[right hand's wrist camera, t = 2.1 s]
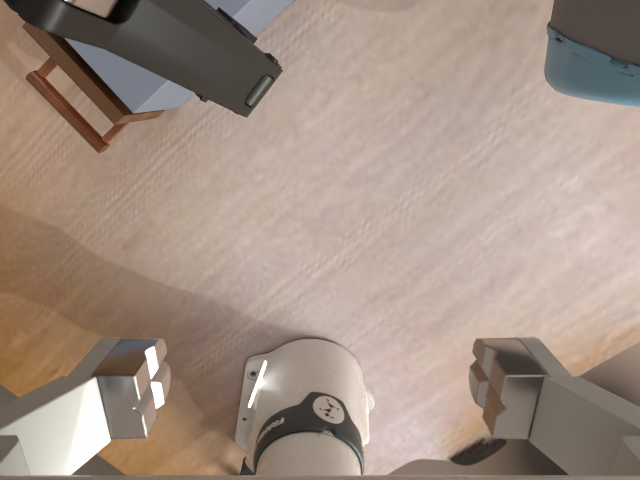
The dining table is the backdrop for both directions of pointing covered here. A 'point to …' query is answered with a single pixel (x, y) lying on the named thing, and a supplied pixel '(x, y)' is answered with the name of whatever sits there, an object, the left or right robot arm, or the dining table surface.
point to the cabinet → (153, 90)
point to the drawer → (87, 83)
